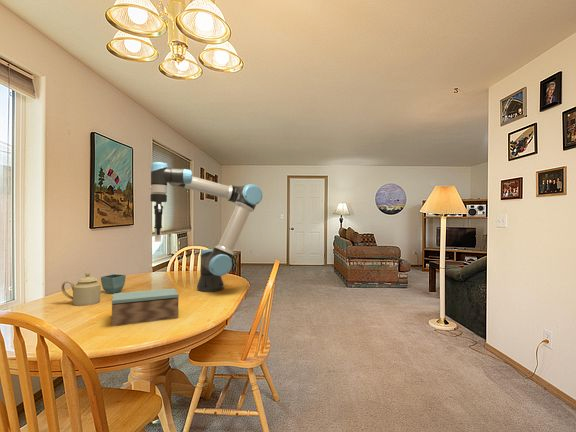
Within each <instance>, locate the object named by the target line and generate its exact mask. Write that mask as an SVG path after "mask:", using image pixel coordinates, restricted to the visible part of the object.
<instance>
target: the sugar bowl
mask: <svg viewBox="0 0 576 432" xmlns="http://www.w3.org/2000/svg"><path fill="white" fill-rule="evenodd" d="M84 274H85V276H84V277H81V278H79V279H77V280H76V282H77V283H76V284H75V285H74V282H73V281H71V280H66V281H64V282H62V284H61V292H62V294H63V295H64V296H65V297H66V298H69V299H70V300H72V305H73V306H78V307H79V306H80V307H82V306H83V307H84V306H91V305H95V304H98V303H100V301H101V294H102V293H101V290H102V283H101V282H100V283H99V282H98V278H96V277H94V276H90V275H91V273H90V271H89V270H87V271H86V272H85V273H84ZM66 284H70V287H71V290H72V296H71V295H70V294H69V293H67V291H66V289H65V285H66Z"/></svg>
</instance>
